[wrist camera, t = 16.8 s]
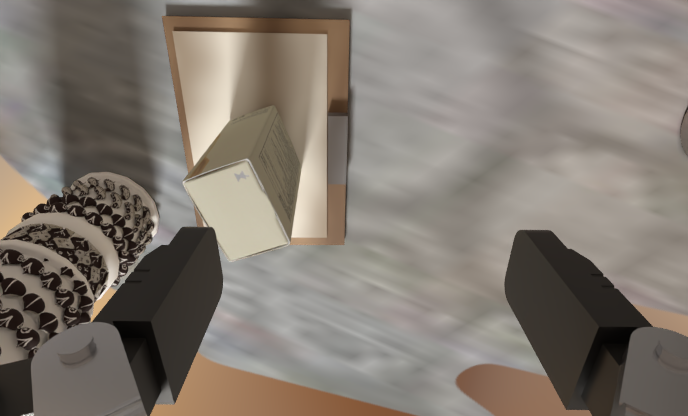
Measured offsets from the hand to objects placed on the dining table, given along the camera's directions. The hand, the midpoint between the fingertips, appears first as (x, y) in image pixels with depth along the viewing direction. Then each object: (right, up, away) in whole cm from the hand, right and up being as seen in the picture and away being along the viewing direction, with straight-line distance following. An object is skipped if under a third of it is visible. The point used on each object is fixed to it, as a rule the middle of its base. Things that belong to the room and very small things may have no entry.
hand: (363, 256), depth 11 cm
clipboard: (-7, +7, +24) cm, 26 cm away
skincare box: (-7, +7, +24) cm, 25 cm away
